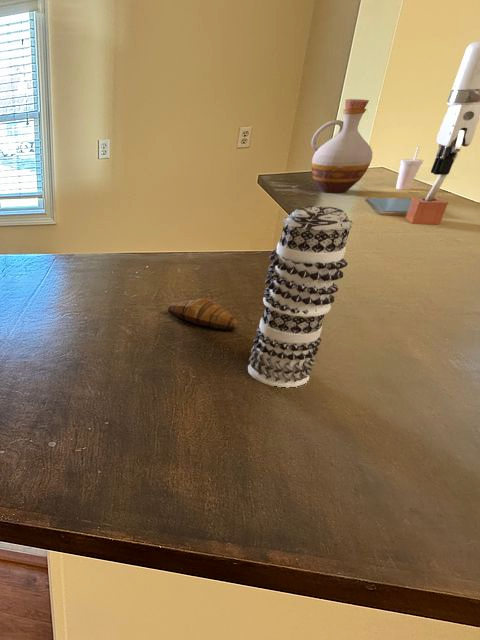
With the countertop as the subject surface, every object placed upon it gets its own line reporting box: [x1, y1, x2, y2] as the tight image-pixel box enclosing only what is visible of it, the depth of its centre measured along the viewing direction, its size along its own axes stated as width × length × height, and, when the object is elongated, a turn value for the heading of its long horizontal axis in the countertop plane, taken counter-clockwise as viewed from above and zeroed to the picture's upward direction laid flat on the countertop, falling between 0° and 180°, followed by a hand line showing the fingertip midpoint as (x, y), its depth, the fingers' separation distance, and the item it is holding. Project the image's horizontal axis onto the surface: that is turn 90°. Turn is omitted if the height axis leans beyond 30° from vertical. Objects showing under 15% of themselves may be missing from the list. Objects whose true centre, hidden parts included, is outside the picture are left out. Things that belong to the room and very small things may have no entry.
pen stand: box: [405, 196, 449, 225], centre depth 136 cm, size 6×6×6 cm
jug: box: [311, 98, 373, 194], centre depth 170 cm, size 20×18×30 cm
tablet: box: [364, 197, 412, 216], centre depth 151 cm, size 14×20×1 cm
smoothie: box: [395, 146, 424, 191], centre depth 169 cm, size 6×6×14 cm
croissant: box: [167, 297, 239, 331], centre depth 90 cm, size 14×7×5 cm, turn 43°
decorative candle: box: [247, 205, 355, 389], centre depth 68 cm, size 9×9×25 cm
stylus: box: [425, 152, 459, 201], centre depth 131 cm, size 2×2×14 cm
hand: (439, 173), depth 131 cm, fingers closed on stylus, 1 cm apart
